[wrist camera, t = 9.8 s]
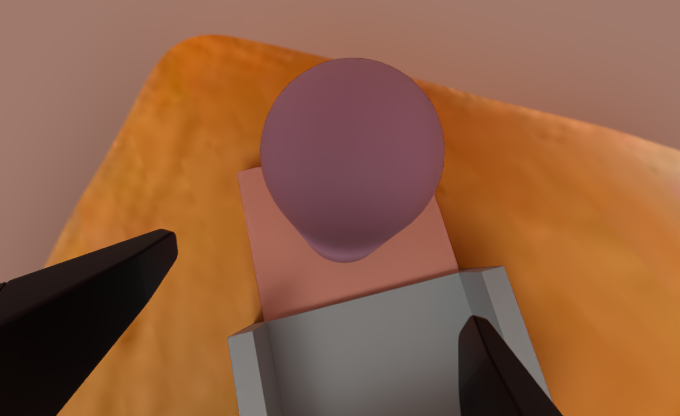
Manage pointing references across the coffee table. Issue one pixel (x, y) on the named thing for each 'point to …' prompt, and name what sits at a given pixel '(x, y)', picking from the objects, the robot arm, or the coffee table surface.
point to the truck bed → (362, 321)
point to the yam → (351, 155)
